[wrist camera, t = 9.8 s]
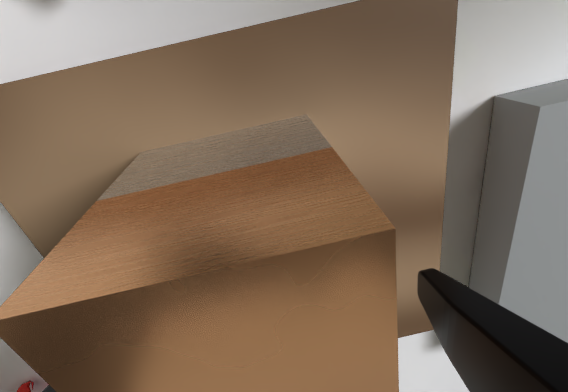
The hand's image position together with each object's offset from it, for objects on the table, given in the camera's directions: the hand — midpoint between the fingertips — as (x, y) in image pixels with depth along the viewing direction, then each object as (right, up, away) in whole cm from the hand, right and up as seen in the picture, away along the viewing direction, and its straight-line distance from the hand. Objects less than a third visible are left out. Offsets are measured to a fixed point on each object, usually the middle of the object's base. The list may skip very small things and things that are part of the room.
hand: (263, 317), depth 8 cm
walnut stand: (-1, +2, +4) cm, 5 cm away
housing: (0, +1, +3) cm, 3 cm away
